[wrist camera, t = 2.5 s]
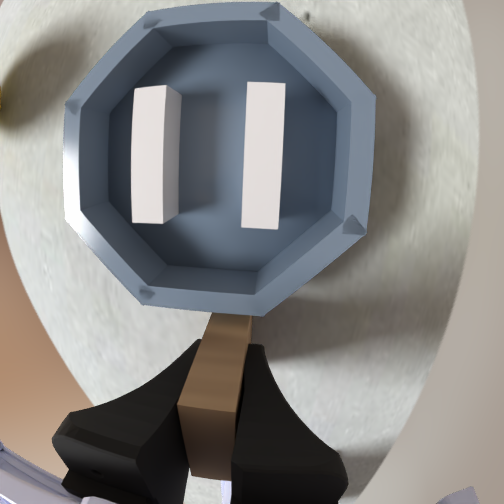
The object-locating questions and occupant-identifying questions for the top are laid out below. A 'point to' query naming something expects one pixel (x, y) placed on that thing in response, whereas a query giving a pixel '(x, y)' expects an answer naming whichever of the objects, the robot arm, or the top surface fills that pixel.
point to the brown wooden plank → (215, 396)
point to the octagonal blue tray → (219, 157)
